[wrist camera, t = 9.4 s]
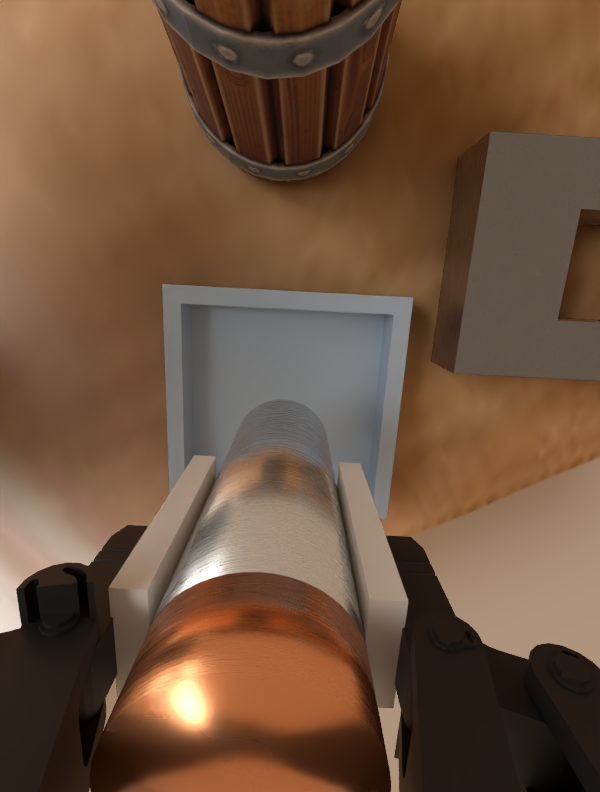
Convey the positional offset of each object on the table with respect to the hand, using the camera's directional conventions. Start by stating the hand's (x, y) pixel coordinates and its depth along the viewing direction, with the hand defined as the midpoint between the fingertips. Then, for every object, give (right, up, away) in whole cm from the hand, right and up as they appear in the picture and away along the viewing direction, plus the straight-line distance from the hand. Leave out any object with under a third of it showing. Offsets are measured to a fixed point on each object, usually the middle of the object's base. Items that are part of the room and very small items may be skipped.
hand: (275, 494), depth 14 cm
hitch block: (+18, +11, +11) cm, 24 cm away
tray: (0, +3, +13) cm, 13 cm away
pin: (0, +1, +5) cm, 5 cm away
